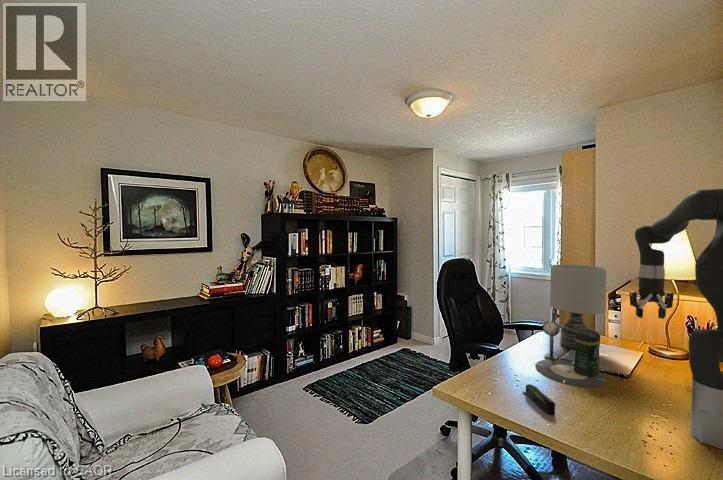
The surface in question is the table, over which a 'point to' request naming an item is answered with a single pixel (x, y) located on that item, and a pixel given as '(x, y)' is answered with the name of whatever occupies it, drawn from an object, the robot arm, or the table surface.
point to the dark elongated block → (540, 399)
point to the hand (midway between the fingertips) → (650, 317)
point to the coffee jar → (587, 353)
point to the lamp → (577, 297)
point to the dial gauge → (551, 337)
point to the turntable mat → (567, 373)
